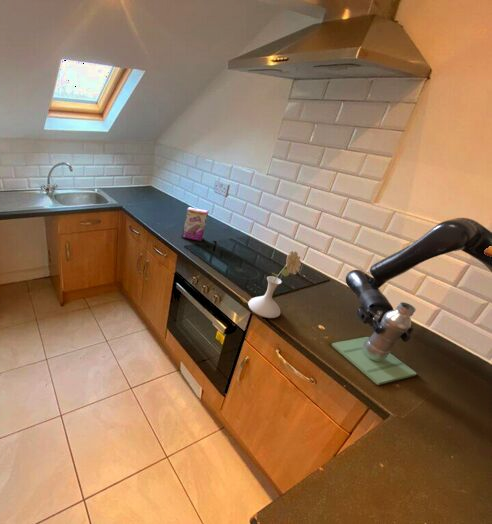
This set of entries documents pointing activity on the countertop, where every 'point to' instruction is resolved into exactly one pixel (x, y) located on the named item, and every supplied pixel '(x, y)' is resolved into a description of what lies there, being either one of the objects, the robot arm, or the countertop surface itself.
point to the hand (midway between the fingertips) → (393, 335)
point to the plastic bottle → (389, 332)
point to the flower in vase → (265, 303)
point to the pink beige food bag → (195, 223)
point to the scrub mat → (373, 362)
